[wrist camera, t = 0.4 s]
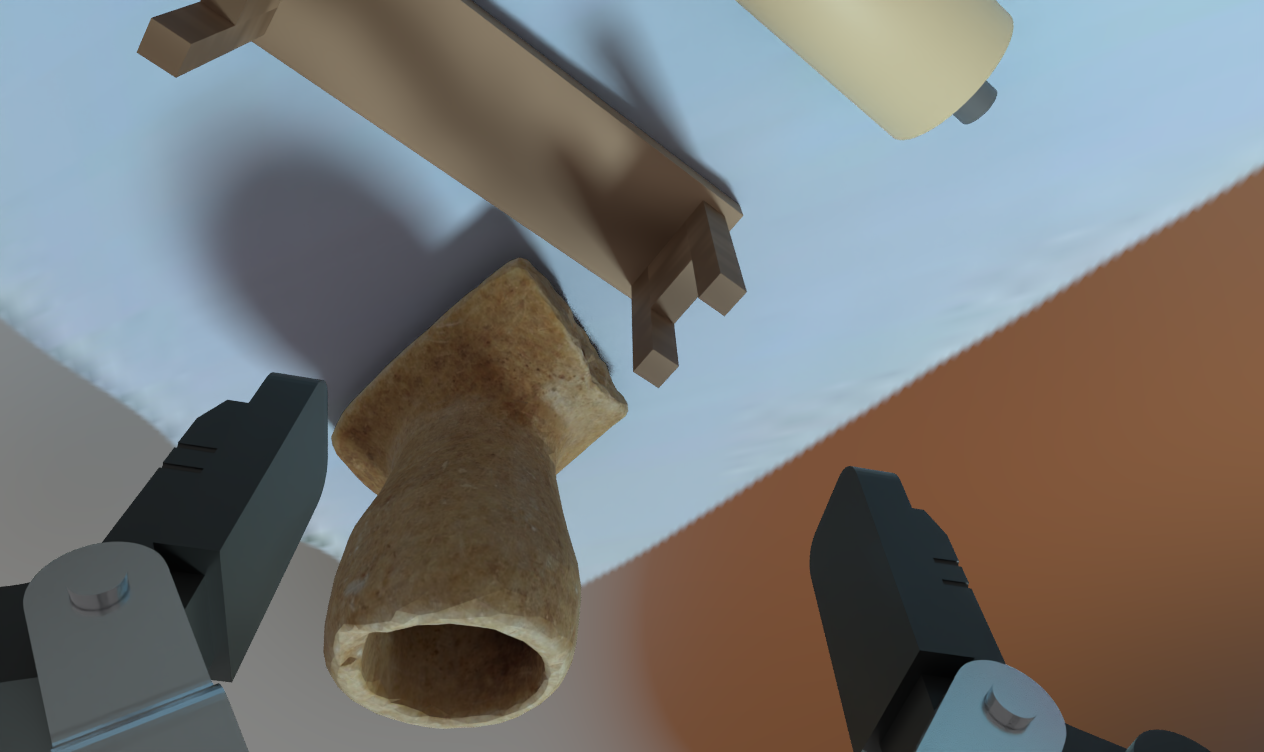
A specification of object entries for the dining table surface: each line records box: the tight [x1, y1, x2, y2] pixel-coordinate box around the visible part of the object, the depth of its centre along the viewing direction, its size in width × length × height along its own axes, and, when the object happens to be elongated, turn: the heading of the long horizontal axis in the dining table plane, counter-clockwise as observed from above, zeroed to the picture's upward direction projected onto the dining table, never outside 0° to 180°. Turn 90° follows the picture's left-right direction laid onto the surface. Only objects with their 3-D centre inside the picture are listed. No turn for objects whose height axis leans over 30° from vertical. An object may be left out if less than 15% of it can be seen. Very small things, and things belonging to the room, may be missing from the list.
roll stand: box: [137, 0, 747, 388], centre depth 31 cm, size 6×21×8 cm, turn 53°
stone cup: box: [324, 257, 628, 729], centre depth 36 cm, size 15×12×15 cm
